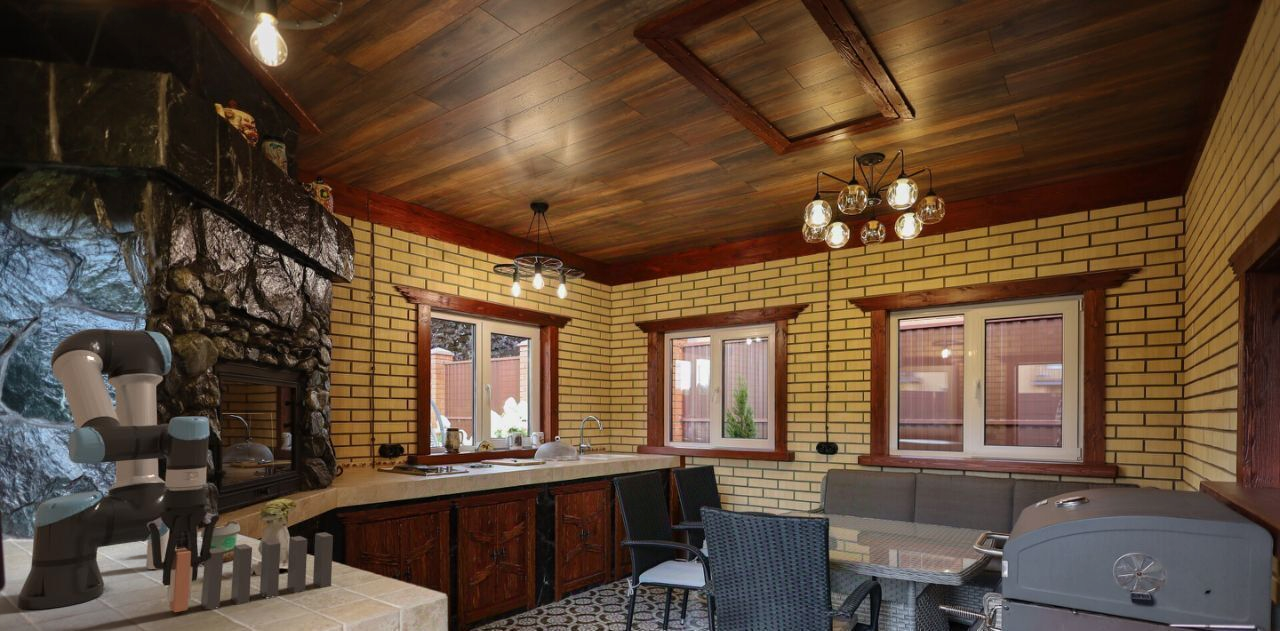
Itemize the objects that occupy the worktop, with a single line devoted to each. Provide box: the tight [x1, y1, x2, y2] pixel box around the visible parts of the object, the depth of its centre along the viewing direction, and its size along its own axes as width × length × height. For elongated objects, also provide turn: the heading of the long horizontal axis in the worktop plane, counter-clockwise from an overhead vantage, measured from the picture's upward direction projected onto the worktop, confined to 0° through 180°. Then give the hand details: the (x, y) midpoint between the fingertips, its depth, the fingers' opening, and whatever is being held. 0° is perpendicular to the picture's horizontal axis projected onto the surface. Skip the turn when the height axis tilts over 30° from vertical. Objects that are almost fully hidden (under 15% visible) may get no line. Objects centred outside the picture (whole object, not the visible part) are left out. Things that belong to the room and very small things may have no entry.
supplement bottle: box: [176, 525, 199, 550], centre depth 204 cm, size 7×7×12 cm
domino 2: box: [200, 548, 224, 610], centre depth 154 cm, size 2×5×12 cm, turn 44°
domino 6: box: [312, 531, 334, 589], centre depth 171 cm, size 2×5×12 cm, turn 44°
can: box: [145, 530, 176, 570], centre depth 188 cm, size 6×6×12 cm
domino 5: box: [286, 535, 308, 594], centre depth 167 cm, size 2×5×12 cm, turn 44°
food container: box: [200, 520, 241, 566], centre depth 194 cm, size 12×6×10 cm, turn 179°
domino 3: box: [230, 543, 253, 605], centre depth 158 cm, size 2×5×12 cm, turn 44°
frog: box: [251, 498, 297, 576], centre depth 186 cm, size 12×13×18 cm
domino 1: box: [168, 548, 191, 613], centre depth 150 cm, size 2×5×12 cm, turn 44°
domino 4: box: [259, 540, 280, 598], centre depth 163 cm, size 2×5×12 cm, turn 44°
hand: (178, 598), depth 150 cm, fingers closed on domino 1, 2 cm apart
